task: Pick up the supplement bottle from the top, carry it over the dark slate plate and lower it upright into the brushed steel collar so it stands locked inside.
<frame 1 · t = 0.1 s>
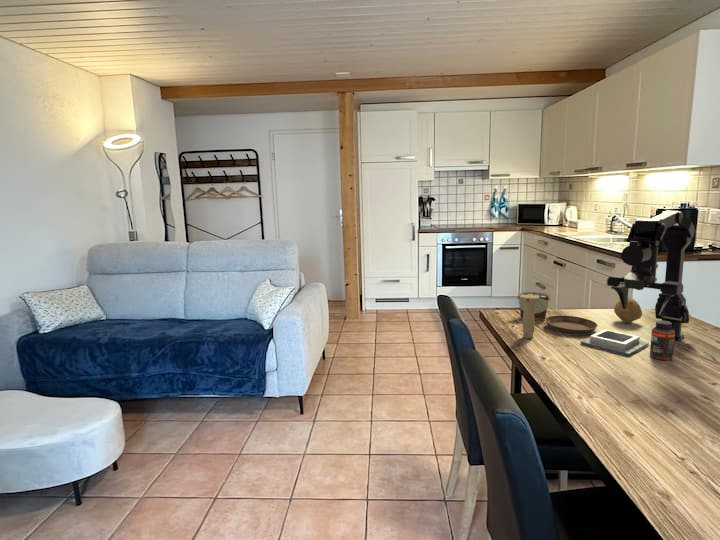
hand: (641, 311, 132), 14 cm above the table, tool pointing down, fingers open, 9 cm apart
rosette socket: (614, 344, 145), on the table
food container: (532, 317, 180), on the table
handle: (527, 337, 155), on the table
plant saucer: (570, 330, 163), on the table
natural sponge: (625, 322, 169), on the table
supplement bottle: (660, 358, 134), on the table
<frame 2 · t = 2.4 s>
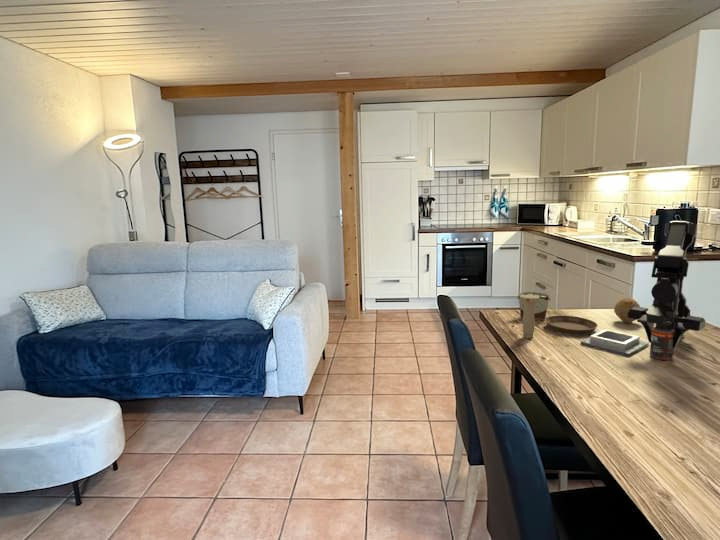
hand: (662, 344, 133), 4 cm above the table, tool pointing down, fingers closed on supplement bottle, 6 cm apart
supplement bottle: (660, 358, 134), on the table, touching gripper
everything else where it was.
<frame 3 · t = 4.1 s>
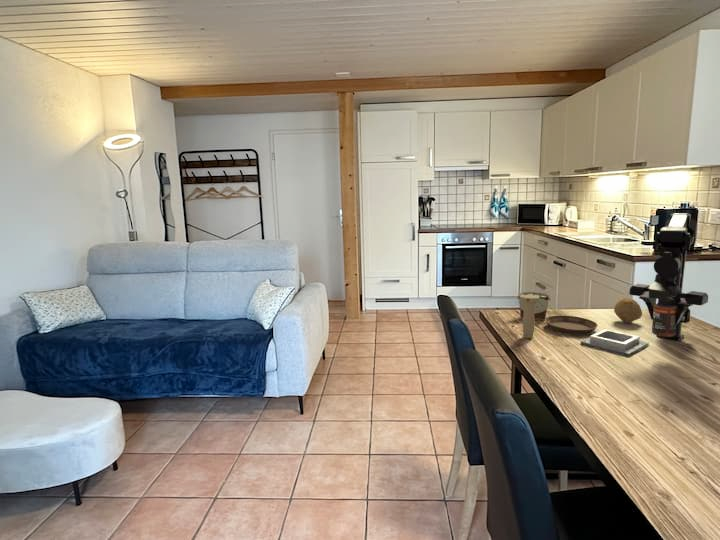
hand: (664, 321, 132), 11 cm above the table, tool pointing down, fingers closed on supplement bottle, 6 cm apart
supplement bottle: (663, 335, 132), point 7 cm above the table, touching gripper
everything else where it was.
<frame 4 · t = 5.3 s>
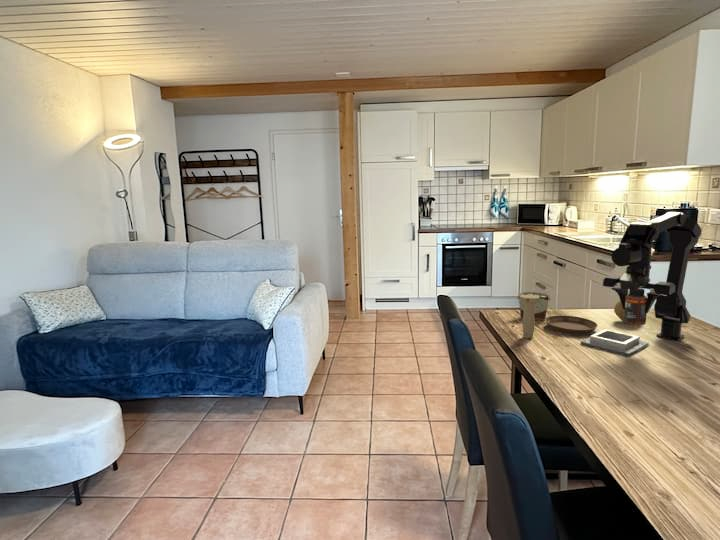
hand: (635, 311, 138), 13 cm above the table, tool pointing down, fingers closed on supplement bottle, 6 cm apart
supplement bottle: (634, 324, 139), point 9 cm above the table, touching gripper
everything else where it was.
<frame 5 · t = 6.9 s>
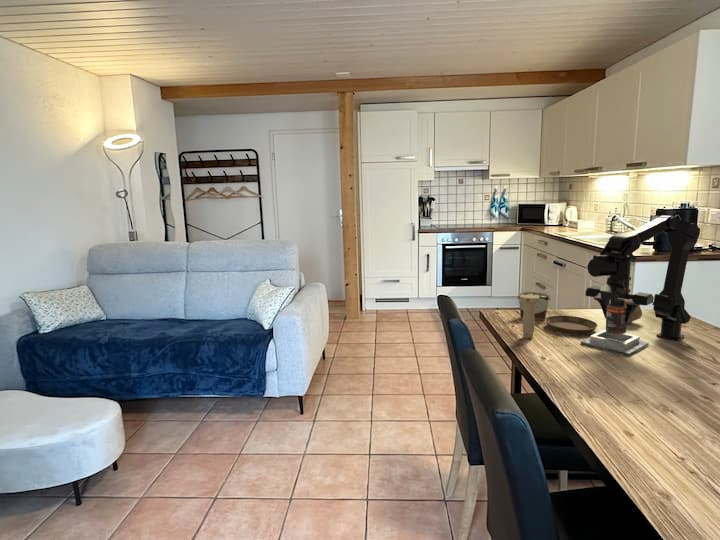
hand: (616, 320, 144), 9 cm above the table, tool pointing down, fingers closed on supplement bottle, 6 cm apart
supplement bottle: (615, 332, 145), point 4 cm above the table, touching gripper
everything else where it was.
when the fingers open (6 cm above the table, at t = 8.4 s): supplement bottle stays where it is, resting on rosette socket.
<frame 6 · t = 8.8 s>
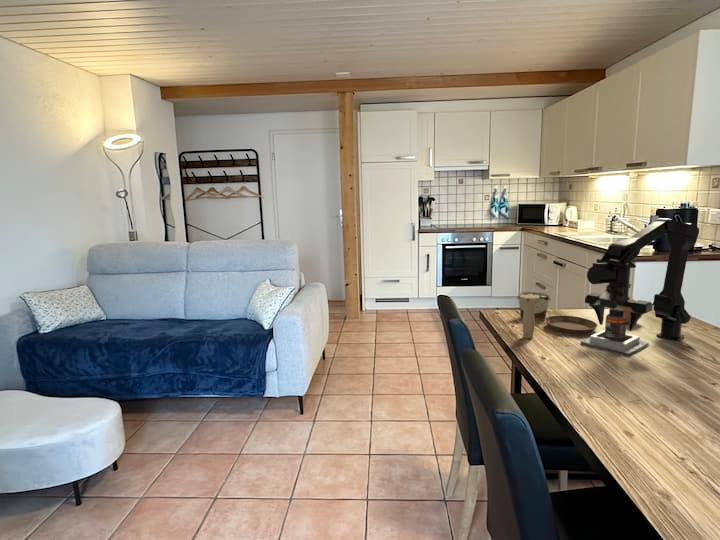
hand: (615, 327, 144), 6 cm above the table, tool pointing down, fingers open, 9 cm apart
supplement bottle: (614, 342, 145), point 1 cm above the table, touching rosette socket
everything else where it was.
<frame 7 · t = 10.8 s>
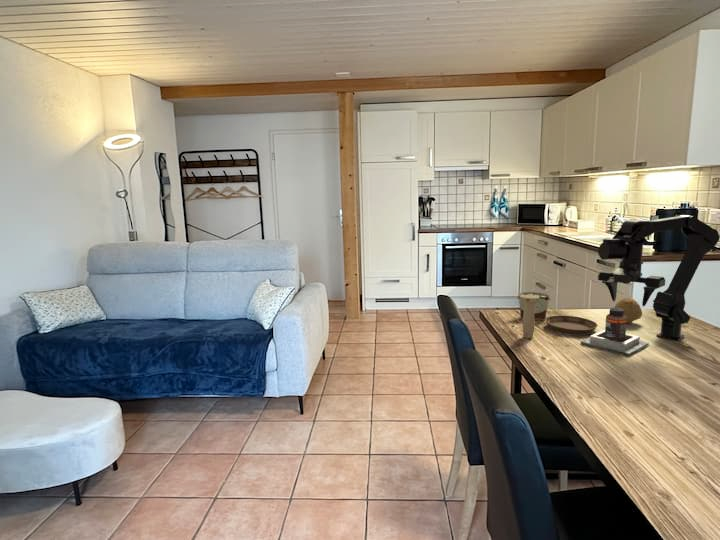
hand: (628, 303, 147), 13 cm above the table, tool pointing down, fingers open, 9 cm apart
nothing on the table moved.
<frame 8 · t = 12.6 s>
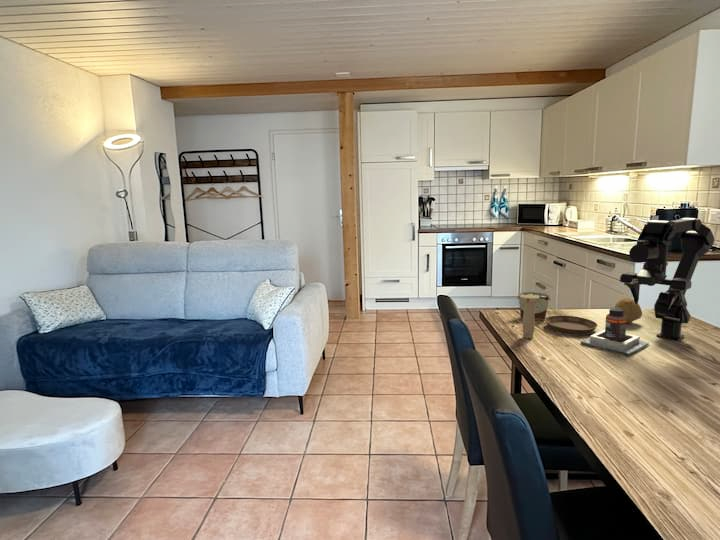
hand: (651, 306, 143), 13 cm above the table, tool pointing down, fingers open, 9 cm apart
nothing on the table moved.
at the end: supplement bottle 0.0 cm off-centre on the rosette socket, point 0.8 cm above the rosette socket's base; supplement bottle tilted 0°; the gripper is holding nothing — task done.
